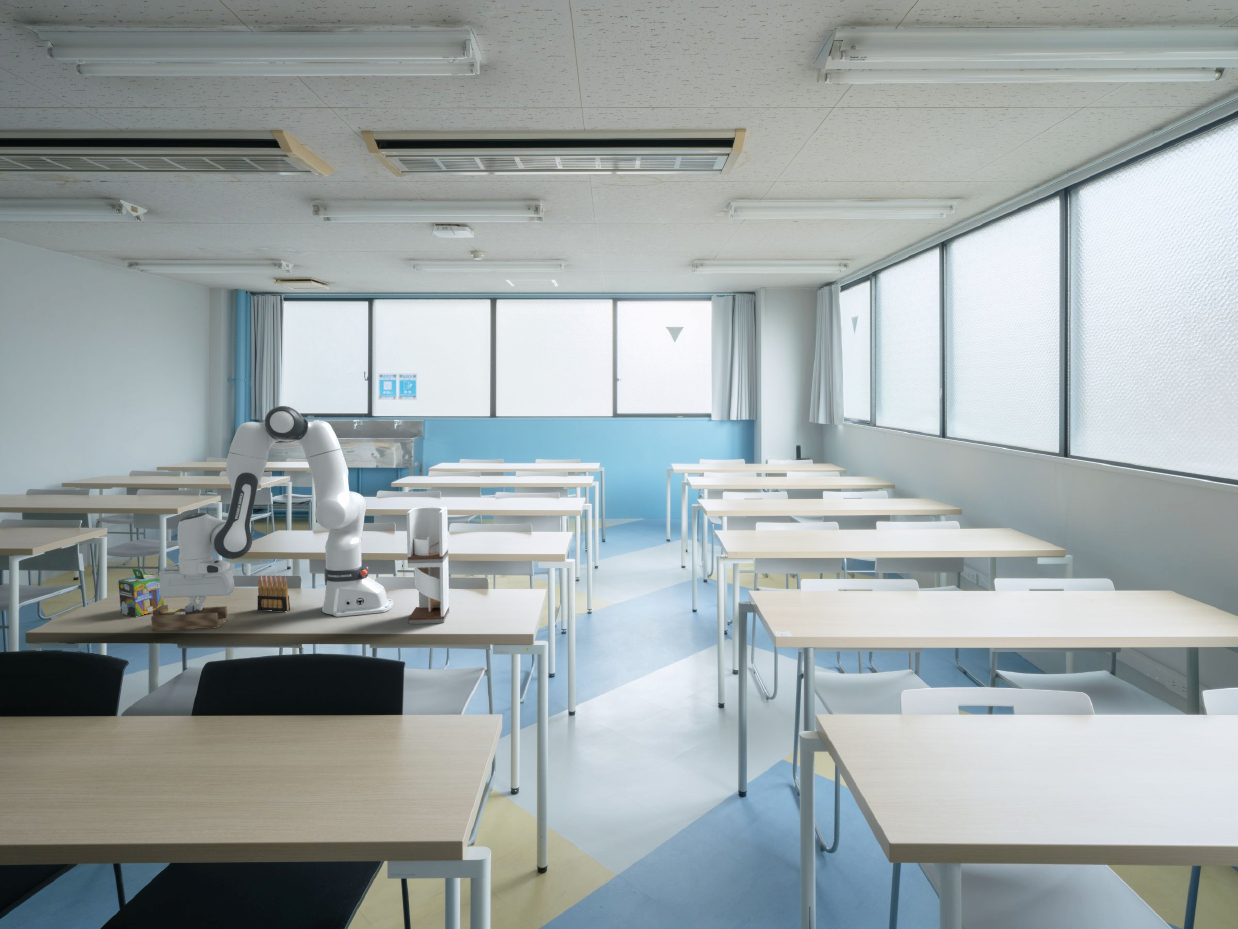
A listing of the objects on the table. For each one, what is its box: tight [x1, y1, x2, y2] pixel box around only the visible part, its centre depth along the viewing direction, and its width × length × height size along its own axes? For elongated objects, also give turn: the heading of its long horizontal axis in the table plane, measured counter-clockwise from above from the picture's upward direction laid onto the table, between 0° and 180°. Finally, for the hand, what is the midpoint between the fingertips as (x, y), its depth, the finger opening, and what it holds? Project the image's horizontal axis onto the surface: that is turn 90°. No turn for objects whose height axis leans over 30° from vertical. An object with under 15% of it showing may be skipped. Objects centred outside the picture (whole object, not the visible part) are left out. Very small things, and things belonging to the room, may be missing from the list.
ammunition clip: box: [257, 574, 291, 612], centre depth 226 cm, size 11×2×12 cm, turn 82°
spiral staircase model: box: [406, 506, 450, 625], centre depth 217 cm, size 11×11×35 cm
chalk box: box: [118, 567, 165, 618], centre depth 224 cm, size 9×9×15 cm
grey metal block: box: [177, 602, 198, 614], centre depth 210 cm, size 5×4×6 cm
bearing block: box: [150, 604, 228, 632], centre depth 210 cm, size 18×8×6 cm, turn 100°
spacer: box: [160, 607, 182, 615], centre depth 209 cm, size 4×4×4 cm
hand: (198, 610), depth 210 cm, fingers closed
